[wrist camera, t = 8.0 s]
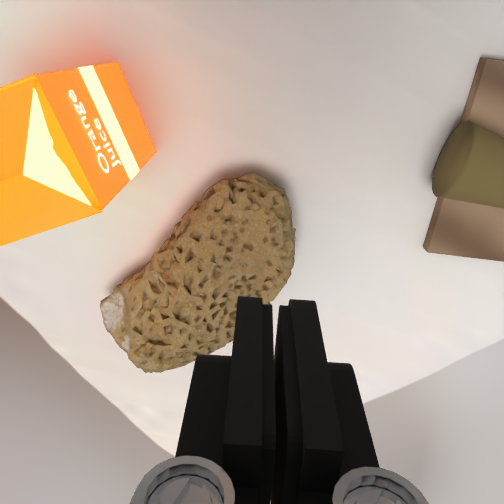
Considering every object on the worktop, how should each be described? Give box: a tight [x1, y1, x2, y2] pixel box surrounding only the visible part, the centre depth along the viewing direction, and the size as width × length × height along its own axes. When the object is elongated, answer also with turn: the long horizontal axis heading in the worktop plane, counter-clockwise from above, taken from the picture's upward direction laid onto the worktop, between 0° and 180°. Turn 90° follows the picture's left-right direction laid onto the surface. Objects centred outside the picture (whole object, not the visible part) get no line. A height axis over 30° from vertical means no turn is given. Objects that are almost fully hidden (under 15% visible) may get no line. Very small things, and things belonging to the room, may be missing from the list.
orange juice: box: [0, 62, 156, 246], centre depth 29 cm, size 8×9×20 cm
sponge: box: [100, 173, 296, 373], centre depth 40 cm, size 13×8×20 cm
